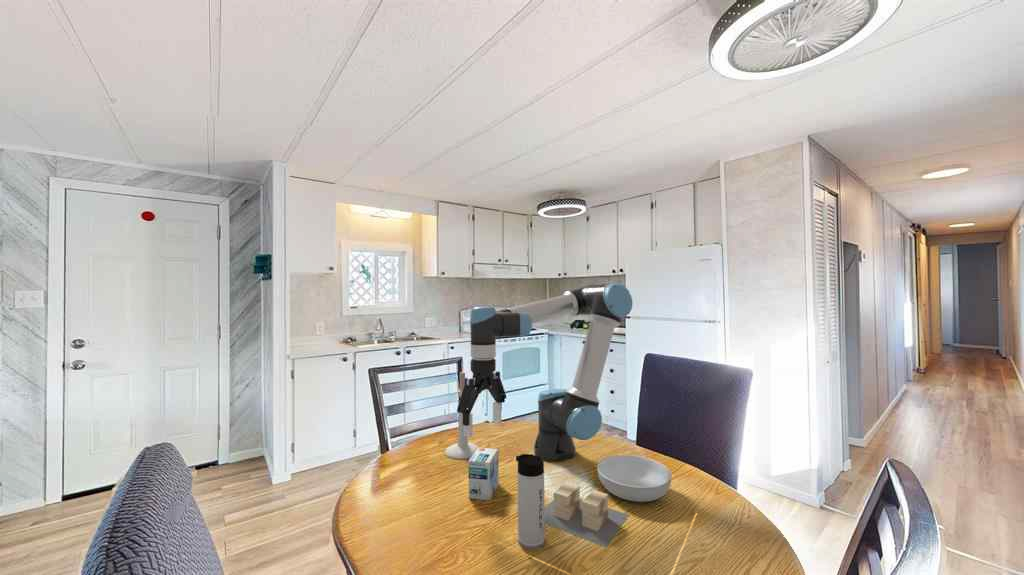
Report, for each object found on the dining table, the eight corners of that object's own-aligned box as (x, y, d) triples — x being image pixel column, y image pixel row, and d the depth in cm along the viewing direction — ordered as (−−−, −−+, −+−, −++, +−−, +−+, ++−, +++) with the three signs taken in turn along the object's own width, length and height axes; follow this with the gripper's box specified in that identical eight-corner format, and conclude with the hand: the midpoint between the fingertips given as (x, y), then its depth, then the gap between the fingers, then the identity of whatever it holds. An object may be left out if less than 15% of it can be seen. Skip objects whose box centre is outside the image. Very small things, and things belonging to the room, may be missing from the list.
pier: (593, 512, 103) (593, 490, 103) (608, 517, 100) (607, 494, 101) (582, 525, 97) (581, 501, 97) (597, 531, 95) (597, 506, 95)
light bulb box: (490, 501, 110) (490, 462, 110) (467, 499, 111) (467, 461, 112) (499, 483, 120) (499, 448, 121) (478, 481, 122) (478, 446, 122)
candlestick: (482, 457, 140) (481, 373, 141) (446, 460, 137) (446, 375, 138) (477, 444, 153) (476, 367, 153) (444, 447, 150) (444, 369, 150)
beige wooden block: (566, 503, 107) (566, 481, 107) (579, 508, 105) (579, 485, 105) (554, 515, 102) (553, 492, 102) (567, 520, 99) (567, 496, 99)
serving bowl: (583, 494, 114) (583, 470, 114) (618, 470, 129) (617, 449, 129) (653, 521, 99) (653, 494, 100) (683, 491, 115) (682, 467, 115)
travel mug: (515, 535, 94) (514, 452, 94) (542, 533, 95) (541, 450, 95) (518, 552, 88) (517, 462, 88) (547, 550, 88) (546, 461, 89)
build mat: (561, 494, 113) (561, 493, 113) (629, 516, 102) (629, 514, 102) (531, 520, 100) (531, 518, 100) (606, 548, 89) (606, 547, 89)
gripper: (498, 352, 129) (498, 416, 129) (444, 362, 109) (444, 439, 108) (516, 354, 125) (517, 420, 124) (464, 365, 104) (464, 445, 104)
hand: (483, 429), depth 116 cm, fingers open, 13 cm apart
